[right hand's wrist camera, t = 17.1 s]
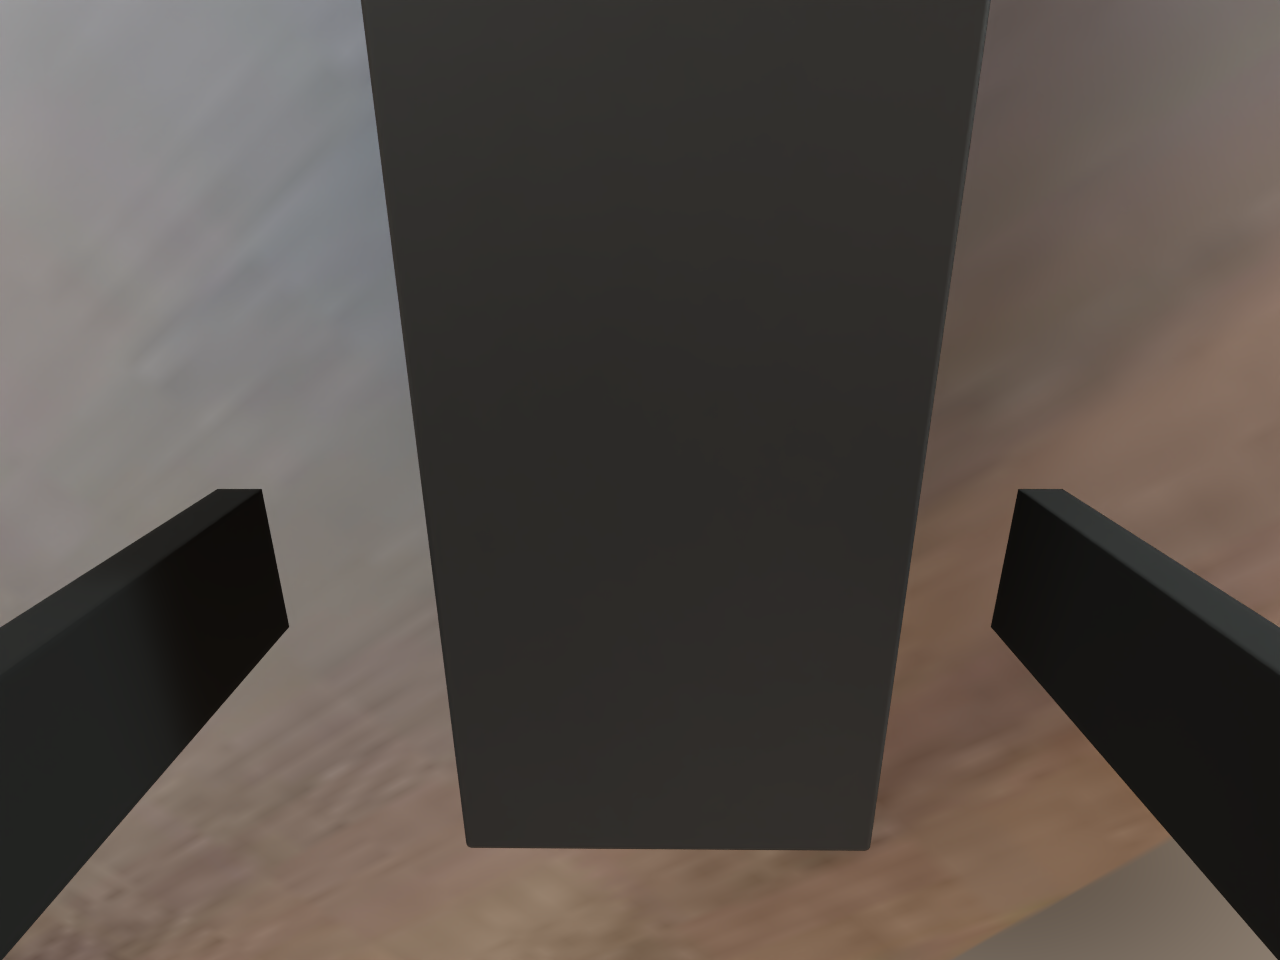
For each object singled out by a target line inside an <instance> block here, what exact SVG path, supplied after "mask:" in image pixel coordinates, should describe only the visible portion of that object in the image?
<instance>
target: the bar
mask: <svg viewBox="0 0 1280 960" xmlns="http://www.w3.org/2000/svg"><path fill="white" fill-rule="evenodd" d="M990 1H991V0H361V5H362V13H363V21H364V29H365V37H366V45H367V53H368V61H369V69H370V77H371V85H372V93H373V101H374V109H375V117H376V125H377V133H378V141H379V149H380V157H381V165H382V173H383V181H384V189H385V197H386V205H387V213H388V221H389V229H390V237H391V245H392V253H393V261H394V269H395V277H396V285H397V293H398V301H399V309H400V317H401V325H402V333H403V341H404V349H405V357H406V365H407V373H408V381H409V389H410V397H411V405H412V413H413V421H414V429H415V437H416V445H417V453H418V460H419V468H420V476H421V484H422V492H423V500H424V508H425V516H426V524H427V532H428V540H429V548H430V556H431V564H432V572H433V580H434V588H435V596H436V604H437V612H438V620H439V628H440V636H441V644H442V652H443V660H444V668H445V676H446V684H447V692H448V700H449V708H450V716H451V724H452V732H453V740H454V748H455V756H456V764H457V772H458V780H459V788H460V796H461V804H462V812H463V820H464V828H465V836H466V843H467V846H468V847H471V848H582V849H715V850H848V851H865V850H868V849H869V848H870V843H871V836H872V829H873V822H874V815H875V808H876V801H877V794H878V787H879V780H880V773H881V766H882V759H883V752H884V745H885V738H886V731H887V724H888V717H889V710H890V703H891V696H892V689H893V682H894V675H895V668H896V661H897V653H898V646H899V639H900V632H901V625H902V618H903V611H904V604H905V597H906V590H907V583H908V576H909V569H910V562H911V555H912V548H913V541H914V534H915V527H916V520H917V513H918V506H919V499H920V492H921V485H922V478H923V471H924V464H925V457H926V450H927V443H928V436H929V429H930V422H931V415H932V408H933V401H934V394H935V387H936V380H937V373H938V366H939V359H940V352H941V345H942V338H943V331H944V324H945V317H946V309H947V302H948V295H949V288H950V281H951V274H952V267H953V260H954V253H955V246H956V239H957V232H958V225H959V218H960V211H961V204H962V197H963V190H964V183H965V176H966V169H967V162H968V155H969V148H970V141H971V134H972V127H973V120H974V113H975V106H976V99H977V92H978V85H979V78H980V71H981V64H982V57H983V50H984V43H985V36H986V29H987V22H988V15H989V8H990Z"/></svg>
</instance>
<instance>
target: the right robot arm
mask: <svg viewBox="0 0 1280 960" xmlns="http://www.w3.org/2000/svg"><path fill="white" fill-rule="evenodd" d="M288 628H289V624H288V619H287V614H286V609H285V604H284V599H283V594H282V589H281V584H280V579H279V574H278V569H277V564H276V559H275V554H274V549H273V544H272V539H271V534H270V529H269V524H268V519H267V514H266V509H265V504H264V499H263V494H262V489H217V490H215V491H214V492H212V493H211V494H209V495H208V496H206V497H204V498H203V499H201V500H200V501H198V502H197V503H195V504H193V505H192V506H190V507H189V508H187V509H186V510H184V511H182V512H181V513H179V514H178V515H176V516H175V517H173V518H171V519H170V520H168V521H167V522H165V523H164V524H162V525H160V526H159V527H157V528H156V529H154V530H153V531H151V532H149V533H148V534H146V535H145V536H143V537H142V538H140V539H138V540H137V541H135V542H134V543H132V544H131V545H129V546H128V547H126V548H124V549H123V550H121V551H120V552H118V553H117V554H115V555H113V556H112V557H110V558H109V559H107V560H106V561H104V562H102V563H101V564H99V565H98V566H96V567H95V568H93V569H91V570H90V571H88V572H87V573H85V574H84V575H82V576H80V577H79V578H77V579H76V580H74V581H73V582H71V583H69V584H68V585H66V586H65V587H63V588H62V589H60V590H58V591H57V592H55V593H54V594H52V595H51V596H49V597H48V598H46V599H44V600H43V601H41V602H40V603H38V604H37V605H35V606H33V607H32V608H30V609H29V610H27V611H26V612H24V613H22V614H21V615H19V616H18V617H16V618H15V619H13V620H11V621H10V622H8V623H7V624H5V625H4V626H2V627H0V960H2V959H3V958H4V957H5V956H6V955H7V953H8V952H9V951H10V950H11V949H12V948H13V946H14V945H15V944H16V943H17V942H18V941H19V940H20V938H21V937H22V936H23V935H24V934H25V933H26V931H27V930H28V929H29V928H30V927H31V926H32V924H33V923H34V922H35V921H36V920H37V919H38V917H39V916H40V915H41V914H42V913H43V912H44V911H45V909H46V908H47V907H48V906H49V905H50V904H51V902H52V901H53V900H54V899H55V898H56V897H57V895H58V894H59V893H60V892H61V891H62V890H63V888H64V887H65V886H66V885H67V884H68V883H69V882H70V880H71V879H72V878H73V877H74V876H75V875H76V873H77V872H78V871H79V870H80V869H81V868H82V866H83V865H84V864H85V863H86V862H87V861H88V859H89V858H90V857H91V856H92V855H93V854H94V853H95V851H96V850H97V849H98V848H99V847H100V846H101V844H102V843H103V842H104V841H105V840H106V839H107V837H108V836H109V835H110V834H111V833H112V832H113V830H114V829H115V828H116V827H117V826H118V825H119V824H120V822H121V821H122V820H123V819H124V818H125V817H126V815H127V814H128V813H129V812H130V811H131V810H132V808H133V807H134V806H135V805H136V804H137V803H138V802H139V800H140V799H141V798H142V797H143V796H144V795H145V793H146V792H147V791H148V790H149V789H150V788H151V786H152V785H153V784H154V783H155V782H156V781H157V779H158V778H159V777H160V776H161V775H162V774H163V773H164V771H165V770H166V769H167V768H168V767H169V766H170V764H171V763H172V762H173V761H174V760H175V759H176V757H177V756H178V755H179V754H180V753H181V752H182V750H183V749H184V748H185V747H186V746H187V745H188V744H189V742H190V741H191V740H192V739H193V738H194V737H195V735H196V734H197V733H198V732H199V731H200V730H201V728H202V727H203V726H204V725H205V724H206V723H207V721H208V720H209V719H210V718H211V717H212V716H213V715H214V713H215V712H216V711H217V710H218V709H219V708H220V706H221V705H222V704H223V703H224V702H225V701H226V699H227V698H228V697H229V696H230V695H231V694H232V692H233V691H234V690H235V689H236V688H237V687H238V686H239V684H240V683H241V682H242V681H243V680H244V679H245V677H246V676H247V675H248V674H249V673H250V672H251V670H252V669H253V668H254V667H255V666H256V665H257V663H258V662H259V661H260V660H261V659H262V658H263V657H264V655H265V654H266V653H267V652H268V651H269V650H270V648H271V647H272V646H273V645H274V644H275V643H276V641H277V640H278V639H279V638H280V637H281V636H282V634H283V633H284V632H285V631H286V630H287V629H288ZM991 628H992V629H993V630H994V631H995V632H996V633H997V634H998V636H999V637H1000V638H1001V639H1002V640H1003V641H1004V643H1005V644H1006V645H1007V646H1008V647H1009V648H1010V650H1011V651H1012V652H1013V653H1014V654H1015V655H1016V657H1017V658H1018V659H1019V660H1020V661H1021V662H1022V663H1023V665H1024V666H1025V667H1026V668H1027V669H1028V670H1029V672H1030V673H1031V674H1032V675H1033V676H1034V677H1035V679H1036V680H1037V681H1038V682H1039V683H1040V684H1041V686H1042V687H1043V688H1044V689H1045V690H1046V691H1047V692H1048V694H1049V695H1050V696H1051V697H1052V698H1053V699H1054V701H1055V702H1056V703H1057V704H1058V705H1059V706H1060V708H1061V709H1062V710H1063V711H1064V712H1065V713H1066V715H1067V716H1068V717H1069V718H1070V719H1071V720H1072V721H1073V723H1074V724H1075V725H1076V726H1077V727H1078V728H1079V730H1080V731H1081V732H1082V733H1083V734H1084V735H1085V737H1086V738H1087V739H1088V740H1089V741H1090V742H1091V744H1092V745H1093V746H1094V747H1095V748H1096V749H1097V750H1098V752H1099V753H1100V754H1101V755H1102V756H1103V757H1104V759H1105V760H1106V761H1107V762H1108V763H1109V764H1110V766H1111V767H1112V768H1113V769H1114V770H1115V771H1116V773H1117V774H1118V775H1119V776H1120V777H1121V778H1122V779H1123V781H1124V782H1125V783H1126V784H1127V785H1128V786H1129V788H1130V789H1131V790H1132V791H1133V792H1134V793H1135V795H1136V796H1137V797H1138V798H1139V799H1140V800H1141V802H1142V803H1143V804H1144V805H1145V806H1146V807H1147V808H1148V810H1149V811H1150V812H1151V813H1152V814H1153V815H1154V817H1155V818H1156V819H1157V820H1158V821H1159V822H1160V824H1161V825H1162V826H1163V827H1164V828H1165V829H1166V831H1167V832H1168V833H1169V834H1170V835H1171V836H1172V837H1173V839H1174V840H1175V841H1176V842H1177V843H1178V844H1179V846H1180V847H1181V848H1182V849H1183V850H1184V851H1185V853H1186V854H1187V855H1188V856H1189V857H1190V858H1191V859H1192V861H1193V862H1194V863H1195V864H1196V865H1197V866H1198V868H1199V869H1200V870H1201V871H1202V872H1203V873H1204V874H1205V876H1206V877H1207V878H1208V879H1209V880H1210V881H1211V883H1212V884H1213V885H1214V886H1215V887H1216V888H1217V890H1218V891H1219V892H1220V893H1221V894H1222V895H1223V897H1224V898H1225V899H1226V900H1227V901H1228V902H1229V904H1230V905H1231V906H1232V907H1233V908H1234V909H1235V910H1236V912H1237V913H1238V914H1239V915H1240V916H1241V917H1242V919H1243V920H1244V921H1245V922H1246V923H1247V924H1248V926H1249V927H1250V928H1251V929H1252V930H1253V931H1254V933H1255V934H1256V935H1257V936H1258V937H1259V938H1260V940H1261V941H1262V942H1263V943H1264V944H1265V945H1266V946H1267V948H1268V949H1269V950H1270V951H1271V952H1272V953H1273V955H1274V956H1275V957H1276V958H1277V959H1278V960H1280V627H1278V626H1276V625H1275V624H1273V623H1272V622H1270V621H1269V620H1267V619H1265V618H1264V617H1262V616H1261V615H1259V614H1258V613H1256V612H1254V611H1253V610H1251V609H1250V608H1248V607H1247V606H1245V605H1243V604H1242V603H1240V602H1239V601H1237V600H1236V599H1234V598H1232V597H1231V596H1229V595H1228V594H1226V593H1225V592H1223V591H1222V590H1220V589H1218V588H1217V587H1215V586H1214V585H1212V584H1211V583H1209V582H1207V581H1206V580H1204V579H1203V578H1201V577H1200V576H1198V575H1196V574H1195V573H1193V572H1192V571H1190V570H1189V569H1187V568H1185V567H1184V566H1182V565H1181V564H1179V563H1178V562H1176V561H1174V560H1173V559H1171V558H1170V557H1168V556H1167V555H1165V554H1163V553H1162V552H1160V551H1159V550H1157V549H1156V548H1154V547H1152V546H1151V545H1149V544H1148V543H1146V542H1145V541H1143V540H1141V539H1140V538H1138V537H1137V536H1135V535H1134V534H1132V533H1131V532H1129V531H1127V530H1126V529H1124V528H1123V527H1121V526H1120V525H1118V524H1116V523H1115V522H1113V521H1112V520H1110V519H1109V518H1107V517H1105V516H1104V515H1102V514H1101V513H1099V512H1098V511H1096V510H1094V509H1093V508H1091V507H1090V506H1088V505H1087V504H1085V503H1083V502H1082V501H1080V500H1079V499H1077V498H1076V497H1074V496H1072V495H1071V494H1069V493H1068V492H1066V491H1065V490H1063V489H1018V494H1017V499H1016V504H1015V509H1014V514H1013V519H1012V524H1011V529H1010V534H1009V539H1008V544H1007V549H1006V554H1005V559H1004V564H1003V569H1002V574H1001V579H1000V584H999V589H998V594H997V599H996V604H995V609H994V614H993V619H992V624H991Z"/></svg>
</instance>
